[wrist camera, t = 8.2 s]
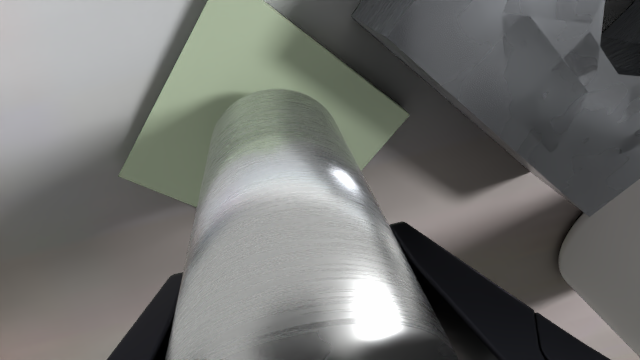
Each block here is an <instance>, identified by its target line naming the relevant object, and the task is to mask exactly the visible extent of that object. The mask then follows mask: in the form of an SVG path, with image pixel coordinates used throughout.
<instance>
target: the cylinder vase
mask: <svg viewBox="0 0 640 360" xmlns="http://www.w3.org/2000/svg"><path fill="white" fill-rule="evenodd" d="M559 269H560V272H561V275H562V277H563V278H564V280H565V281H566V282H567V283H568V284H569V285H570V286H571V287H572V288H573V289H574V290H575V291H576V292H577V294H578V295H579V296H580V297H581V298H582V299H583V300H584V301H585V302H586V303H587V304H588V305H589V306H590V307H591V308H592V309H593V310H594V311H595V312H596V313H597V314H598V315H599V316H600V317H601V318H602V319H603V320H604V321H605V322H606V323H607V324H608V325H609V326H610V327H611V328H612V329H613V330H614V331H615V333H616V334H617V335H618V336H619V337H620V338H621V339H622V340H623V341H624V342H625V343H626V344H627V345H628V346H629V347H630V348H631V349H632V350H633V351H634V352H635V353H636V354H637V355H638V356H639V357H640V179H639V180H637V181H636V182H635V183H634V184H632V185H631V186H630V187H628V188H627V189H626V190H624V191H623V192H622V193H620V194H619V195H618V196H617V197H615V198H614V199H613V200H611V201H610V202H609V203H607V204H606V205H605V206H603V207H602V208H601V209H599V210H598V211H597V212H596V213H594V214H593V215H592V216H590V217H589V216H587V215H586V214H585V213H583V214H582V215H581V216H580V217H579V219H578V220H577V221H576V222H575V224H574V225H573V226H572V228H571V229H570V231H569V232H568V234H567V236H566V238H565V239H564V242H563V244H562V246H561V250H560V253H559Z"/></svg>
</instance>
